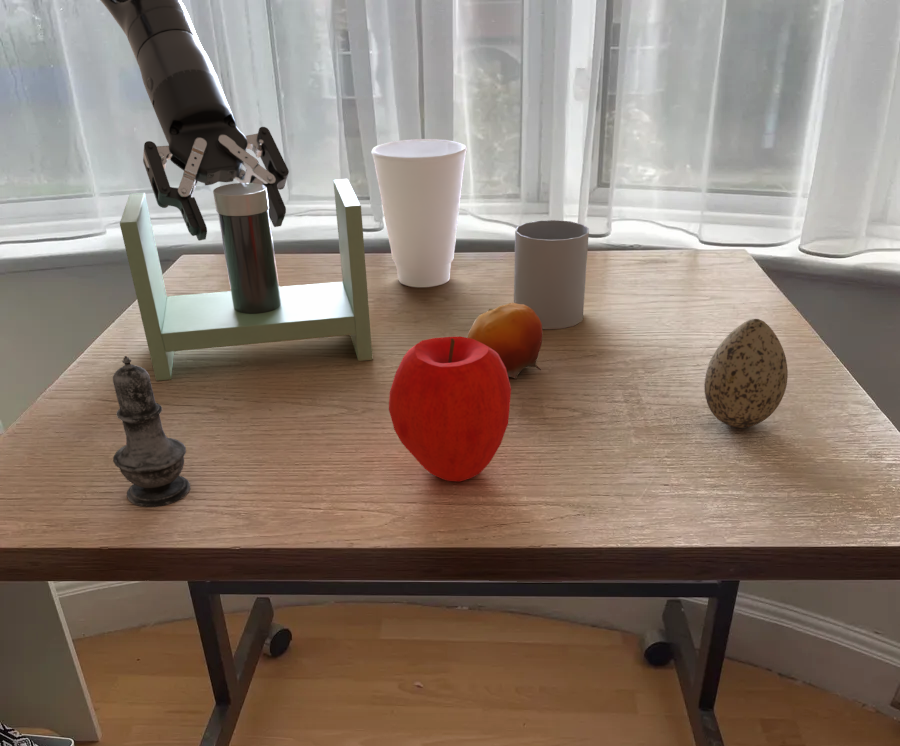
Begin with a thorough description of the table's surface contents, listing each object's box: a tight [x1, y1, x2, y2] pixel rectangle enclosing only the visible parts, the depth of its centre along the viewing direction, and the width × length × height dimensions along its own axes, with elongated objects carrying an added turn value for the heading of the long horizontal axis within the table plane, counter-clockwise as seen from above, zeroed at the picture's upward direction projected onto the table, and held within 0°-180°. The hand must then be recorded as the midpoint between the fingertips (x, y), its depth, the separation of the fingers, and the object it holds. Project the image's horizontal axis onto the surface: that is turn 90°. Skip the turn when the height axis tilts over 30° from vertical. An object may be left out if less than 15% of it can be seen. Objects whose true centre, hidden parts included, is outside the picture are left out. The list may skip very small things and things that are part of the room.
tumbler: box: [212, 182, 281, 314], centre depth 95 cm, size 5×5×12 cm
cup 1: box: [371, 138, 468, 288], centre depth 116 cm, size 12×12×16 cm
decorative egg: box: [703, 318, 789, 429], centre depth 81 cm, size 7×7×10 cm
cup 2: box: [513, 219, 590, 330], centre depth 105 cm, size 8×8×10 cm
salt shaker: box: [112, 355, 191, 508], centre depth 73 cm, size 6×6×12 cm
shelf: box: [119, 178, 374, 382], centre depth 97 cm, size 23×12×16 cm, turn 101°
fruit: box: [466, 302, 543, 380], centre depth 94 cm, size 8×8×8 cm
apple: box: [388, 335, 512, 482], centre depth 74 cm, size 10×10×12 cm
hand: (241, 229), depth 95 cm, fingers open, 8 cm apart
